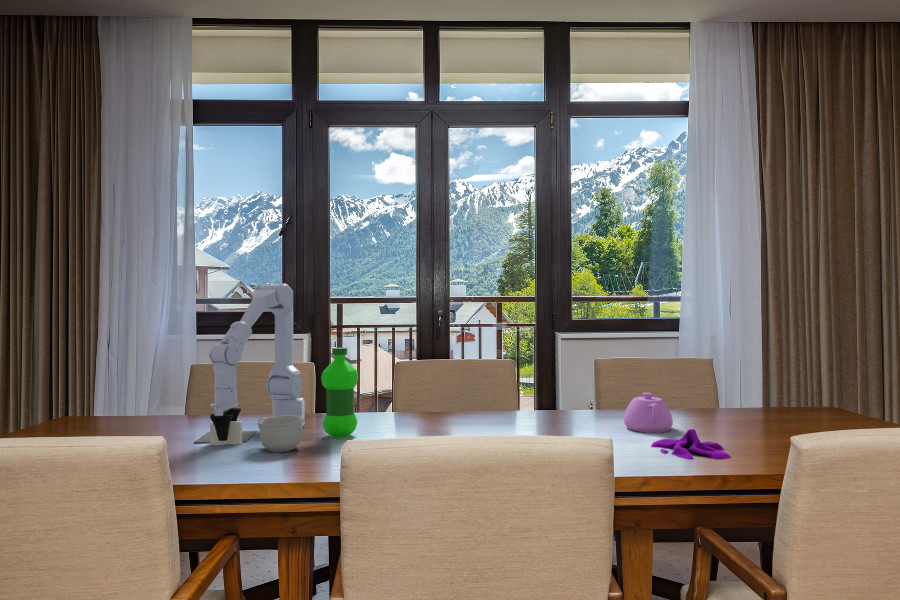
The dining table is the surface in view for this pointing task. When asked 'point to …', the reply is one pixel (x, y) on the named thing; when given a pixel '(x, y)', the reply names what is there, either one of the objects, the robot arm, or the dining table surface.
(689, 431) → the cloth
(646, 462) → the dining table surface
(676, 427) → the dining table surface
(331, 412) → the plastic bottle
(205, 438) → the mat
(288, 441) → the teacup
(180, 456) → the dining table surface
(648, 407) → the teapot
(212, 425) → the tile
